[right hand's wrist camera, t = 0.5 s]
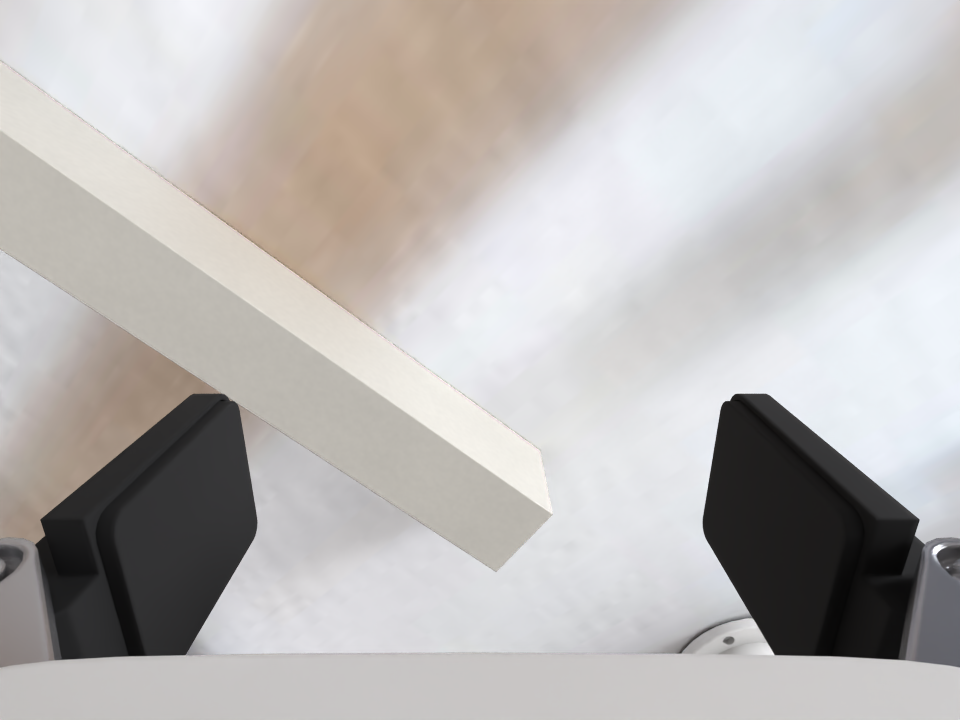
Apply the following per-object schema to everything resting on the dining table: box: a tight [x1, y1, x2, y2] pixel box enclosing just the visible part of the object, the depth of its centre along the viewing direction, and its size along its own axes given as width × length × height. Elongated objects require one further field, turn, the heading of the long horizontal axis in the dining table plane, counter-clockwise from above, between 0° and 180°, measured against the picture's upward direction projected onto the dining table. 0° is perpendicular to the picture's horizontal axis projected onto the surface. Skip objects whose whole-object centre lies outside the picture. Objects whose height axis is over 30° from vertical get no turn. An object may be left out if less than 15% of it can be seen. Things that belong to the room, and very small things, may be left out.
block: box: [0, 61, 553, 572], centre depth 31 cm, size 59×5×8 cm, turn 52°
